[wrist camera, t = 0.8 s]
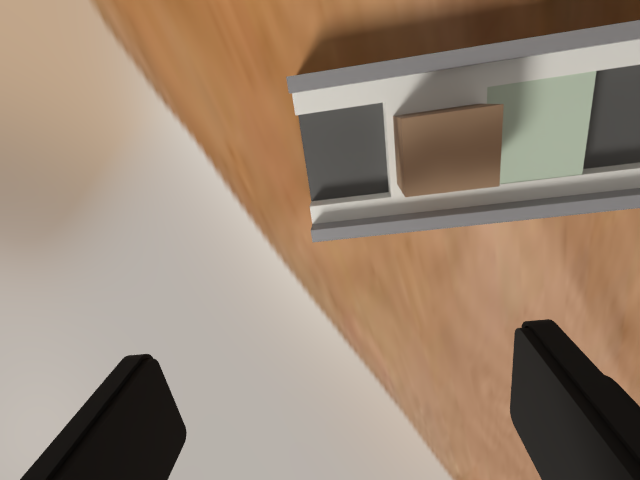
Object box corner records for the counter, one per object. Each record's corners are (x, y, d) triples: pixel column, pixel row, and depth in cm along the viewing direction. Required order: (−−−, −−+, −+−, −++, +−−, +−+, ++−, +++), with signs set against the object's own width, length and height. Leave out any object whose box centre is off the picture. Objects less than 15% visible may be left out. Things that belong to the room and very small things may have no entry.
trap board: (293, 79, 26) (286, 76, 23) (686, 16, 23) (741, 3, 20) (316, 227, 31) (312, 242, 27) (649, 190, 28) (690, 202, 24)
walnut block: (392, 115, 25) (401, 118, 21) (479, 103, 24) (503, 104, 21) (396, 183, 27) (405, 197, 23) (477, 174, 26) (499, 186, 22)
